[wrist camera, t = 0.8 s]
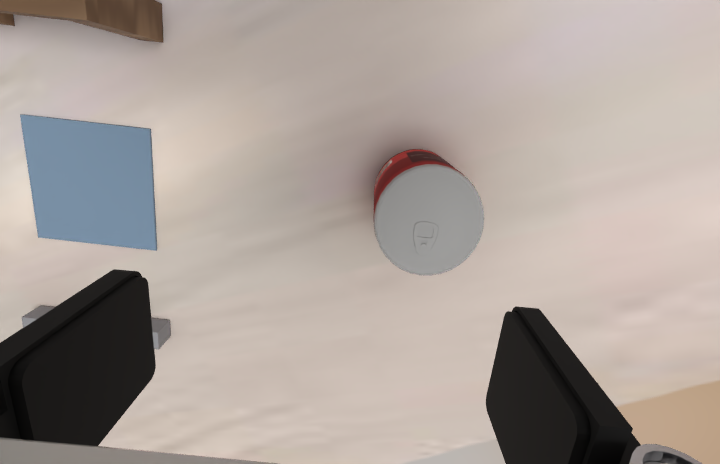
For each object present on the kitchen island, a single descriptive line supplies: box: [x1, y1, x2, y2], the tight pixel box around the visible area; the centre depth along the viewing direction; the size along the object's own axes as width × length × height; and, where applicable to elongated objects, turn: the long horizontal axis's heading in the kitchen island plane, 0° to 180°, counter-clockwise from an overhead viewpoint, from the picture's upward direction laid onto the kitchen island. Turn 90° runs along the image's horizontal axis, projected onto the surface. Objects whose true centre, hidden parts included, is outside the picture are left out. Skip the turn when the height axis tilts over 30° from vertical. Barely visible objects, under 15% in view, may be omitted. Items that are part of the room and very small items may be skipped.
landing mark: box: [20, 115, 157, 250], centre depth 39 cm, size 12×12×1 cm
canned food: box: [374, 149, 484, 275], centre depth 33 cm, size 8×8×11 cm
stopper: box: [22, 306, 171, 349], centre depth 42 cm, size 2×14×2 cm, turn 83°
